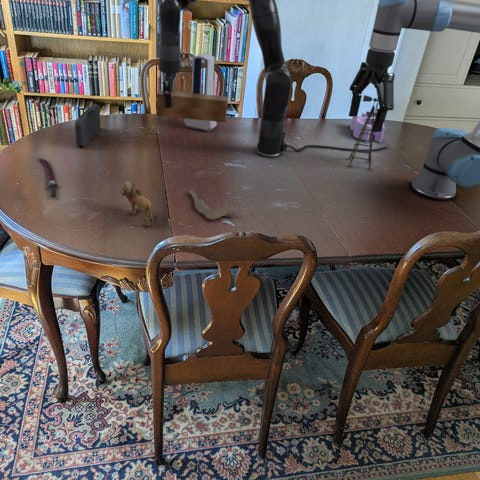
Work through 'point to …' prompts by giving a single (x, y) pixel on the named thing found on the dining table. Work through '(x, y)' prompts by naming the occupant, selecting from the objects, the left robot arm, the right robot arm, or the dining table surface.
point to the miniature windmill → (369, 114)
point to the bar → (193, 106)
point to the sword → (52, 181)
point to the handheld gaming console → (87, 125)
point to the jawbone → (207, 211)
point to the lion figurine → (137, 201)
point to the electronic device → (208, 89)
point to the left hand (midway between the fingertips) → (169, 104)
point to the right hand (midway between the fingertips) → (364, 123)
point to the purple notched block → (358, 125)
